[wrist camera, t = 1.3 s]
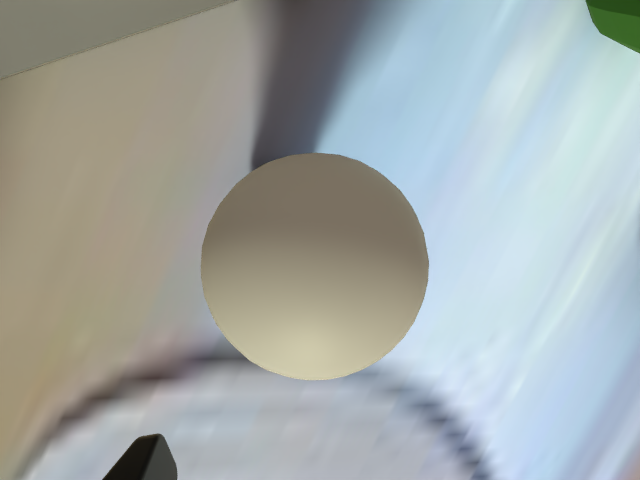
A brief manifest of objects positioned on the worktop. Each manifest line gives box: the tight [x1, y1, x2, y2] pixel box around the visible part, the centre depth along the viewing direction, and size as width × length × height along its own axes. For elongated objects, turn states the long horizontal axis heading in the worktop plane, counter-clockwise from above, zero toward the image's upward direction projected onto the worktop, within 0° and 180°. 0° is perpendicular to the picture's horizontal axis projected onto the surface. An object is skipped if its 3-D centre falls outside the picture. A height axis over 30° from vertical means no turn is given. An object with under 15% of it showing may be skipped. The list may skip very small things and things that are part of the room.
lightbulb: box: [201, 153, 429, 380], centre depth 16 cm, size 6×6×11 cm
